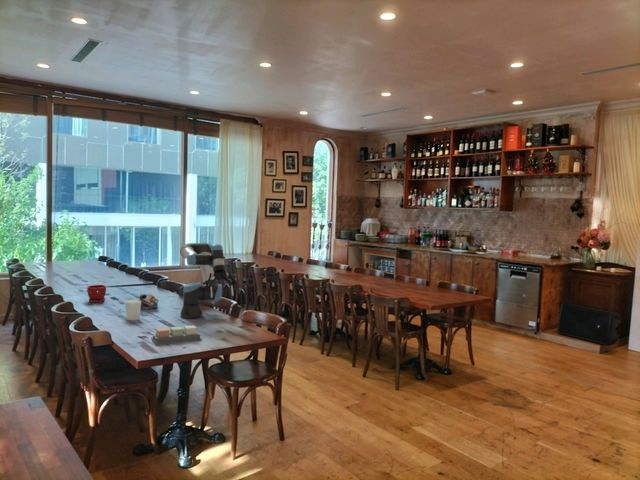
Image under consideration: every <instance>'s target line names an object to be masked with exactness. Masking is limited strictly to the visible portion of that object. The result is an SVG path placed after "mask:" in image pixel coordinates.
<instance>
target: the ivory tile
mask: <svg viewBox="0 0 640 480" xmlns="http://www.w3.org/2000/svg"><path fill="white" fill-rule="evenodd" d="M183 332H184V333H185V334H186V335H194V334H197V332H198V327H196V325H183Z"/></svg>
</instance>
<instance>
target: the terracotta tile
mask: <svg viewBox="0 0 640 480" xmlns="http://www.w3.org/2000/svg"><path fill="white" fill-rule="evenodd" d="M169 333H170V329H169V328H168V327H158V328H155V334H156V336H157V337H158V338H162V337H169Z"/></svg>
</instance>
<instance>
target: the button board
mask: <svg viewBox="0 0 640 480" xmlns="http://www.w3.org/2000/svg"><path fill="white" fill-rule="evenodd" d="M151 341H152V343H154V345H155V346H159V345H168V344H179V343H180V344H181V343H187V342H188V343H189V342H190V343H191V342H198V341H202V337H201V334H200V333H199V332H198V331H197V334H194V335H186V334H185V333H184V331H183V336H172V335H171V334H170V332H169V337H162V338H158V337H157V336H156V333H155V334H152V337H151Z"/></svg>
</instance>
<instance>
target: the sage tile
mask: <svg viewBox="0 0 640 480" xmlns="http://www.w3.org/2000/svg"><path fill="white" fill-rule="evenodd" d="M183 332H184V327H182V326H170V329H169V333H170V334H171V335H172V336H183Z"/></svg>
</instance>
